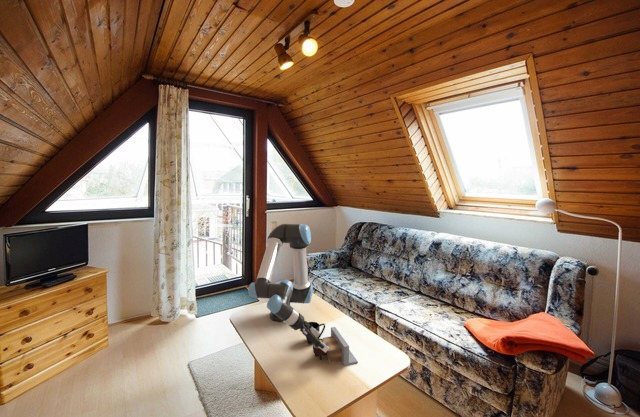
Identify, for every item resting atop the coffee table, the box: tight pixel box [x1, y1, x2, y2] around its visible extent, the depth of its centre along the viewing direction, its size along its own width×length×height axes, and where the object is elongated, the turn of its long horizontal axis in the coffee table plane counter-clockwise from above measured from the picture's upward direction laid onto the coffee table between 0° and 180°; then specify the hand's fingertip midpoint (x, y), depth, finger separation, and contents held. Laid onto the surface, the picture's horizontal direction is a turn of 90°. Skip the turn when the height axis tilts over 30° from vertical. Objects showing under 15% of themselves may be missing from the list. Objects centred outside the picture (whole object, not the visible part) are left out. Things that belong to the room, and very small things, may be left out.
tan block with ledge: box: [322, 335, 342, 365], centre depth 149 cm, size 12×6×7 cm, turn 18°
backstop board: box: [330, 326, 358, 367], centre depth 151 cm, size 19×7×10 cm, turn 18°
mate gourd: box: [312, 337, 327, 361], centre depth 145 cm, size 8×8×15 cm
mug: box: [305, 321, 326, 345], centre depth 162 cm, size 8×12×10 cm
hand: (322, 342), depth 147 cm, fingers open, 13 cm apart
